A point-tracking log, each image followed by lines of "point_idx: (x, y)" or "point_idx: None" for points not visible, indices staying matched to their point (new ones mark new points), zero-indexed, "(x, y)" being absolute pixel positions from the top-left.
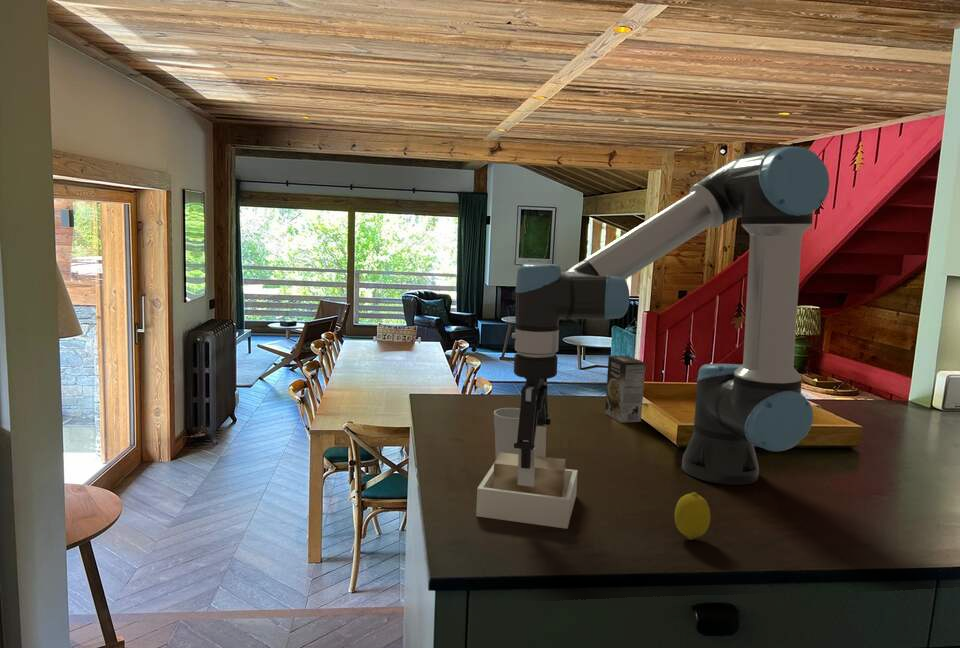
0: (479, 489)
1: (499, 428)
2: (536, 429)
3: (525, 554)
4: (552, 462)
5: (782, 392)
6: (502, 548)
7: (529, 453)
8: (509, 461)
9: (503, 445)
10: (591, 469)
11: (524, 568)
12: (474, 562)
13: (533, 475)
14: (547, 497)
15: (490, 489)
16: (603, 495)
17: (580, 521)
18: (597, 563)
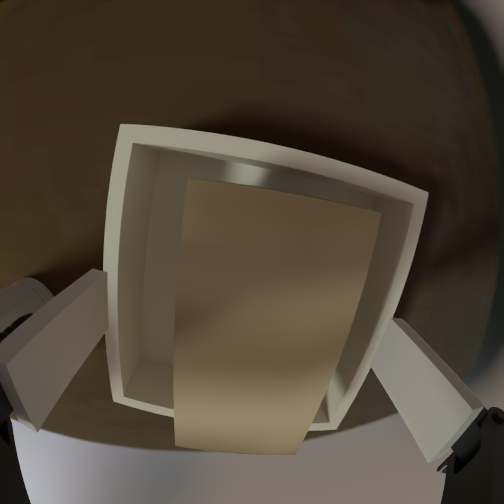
0: (338, 424)
1: None
2: (36, 398)
3: (462, 283)
4: (262, 262)
5: None
6: (441, 321)
7: (483, 407)
8: (272, 427)
9: None
10: (3, 118)
11: (487, 282)
12: (461, 349)
13: (421, 340)
14: (411, 261)
15: (346, 408)
16: (143, 66)
17: (337, 144)
18: (484, 161)
